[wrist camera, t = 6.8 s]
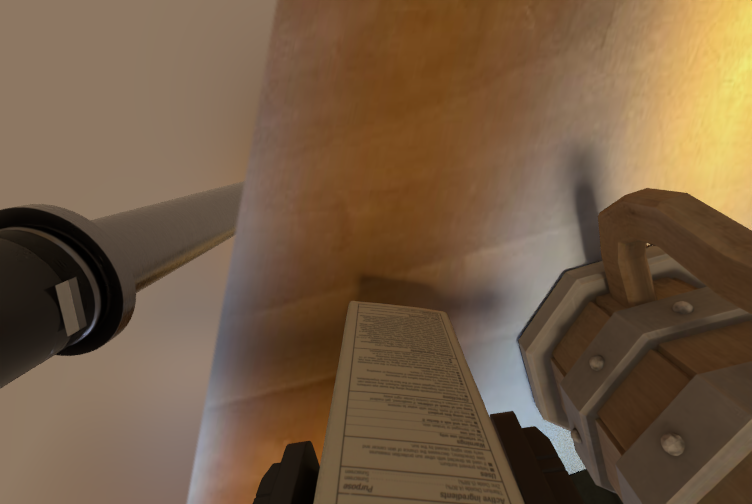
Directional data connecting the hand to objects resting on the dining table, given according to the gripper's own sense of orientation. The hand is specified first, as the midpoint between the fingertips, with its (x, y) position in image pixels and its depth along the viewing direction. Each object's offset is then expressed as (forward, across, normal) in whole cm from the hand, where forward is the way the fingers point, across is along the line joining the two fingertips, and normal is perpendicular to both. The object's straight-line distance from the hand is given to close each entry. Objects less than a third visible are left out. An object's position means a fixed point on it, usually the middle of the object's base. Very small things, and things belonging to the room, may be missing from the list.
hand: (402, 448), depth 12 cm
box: (+7, 0, 0) cm, 7 cm away
